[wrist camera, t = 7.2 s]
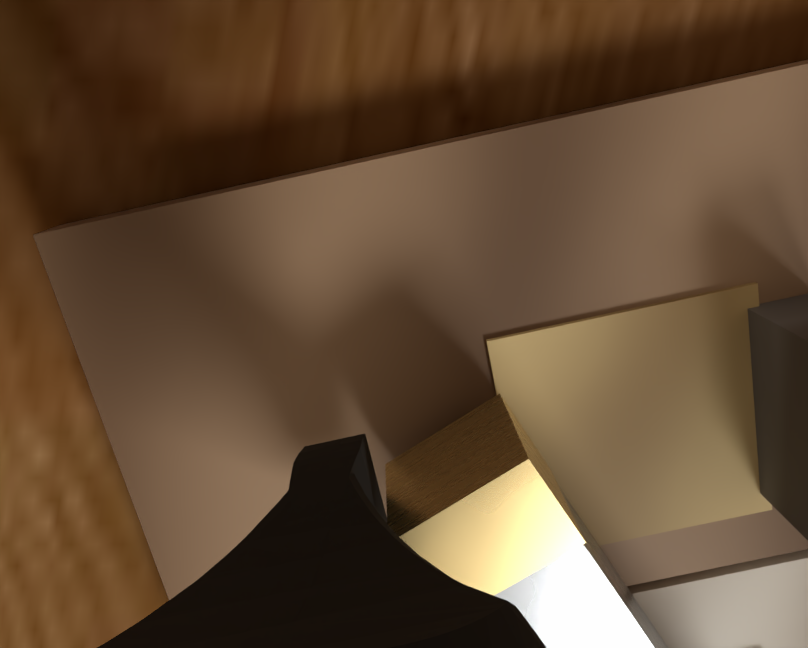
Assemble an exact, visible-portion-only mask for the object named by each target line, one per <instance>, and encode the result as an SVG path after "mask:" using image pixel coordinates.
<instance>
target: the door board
mask: <svg viewBox="0 0 808 648" xmlns="http://www.w3.org/2000/svg"><path fill="white" fill-rule="evenodd" d="M33 237H34V240H35V242H36V245H37V248H38V250H39V253H40V256H41V258H42V261H43V264H44V266H45V269H46V272H47V274H48V277H49V280H50V282H51V285H52V288H53V290H54V293H55V296H56V298H57V301H58V304H59V306H60V309H61V312H62V314H63V317H64V320H65V323H66V325H67V328H68V331H69V333H70V336H71V339H72V341H73V344H74V347H75V349H76V352H77V355H78V357H79V360H80V363H81V365H82V368H83V371H84V373H85V376H86V379H87V381H88V384H89V387H90V389H91V392H92V395H93V398H94V400H95V403H96V406H97V408H98V411H99V414H100V416H101V419H102V422H103V424H104V427H105V430H106V432H107V435H108V438H109V440H110V443H111V446H112V448H113V451H114V454H115V456H116V459H117V462H118V464H119V467H120V470H121V472H122V475H123V478H124V481H125V483H126V486H127V489H128V491H129V494H130V497H131V499H132V502H133V505H134V507H135V510H136V513H137V515H138V518H139V521H140V523H141V526H142V529H143V531H144V534H145V537H146V539H147V542H148V545H149V547H150V550H151V553H152V555H153V558H154V561H155V564H156V566H157V569H158V572H159V574H160V577H161V580H162V582H163V585H164V588H165V590H166V593H167V596H168V598H169V600H170V599H172V598H173V597H175V596H176V595H177V594H179V593H180V592H182V591H183V590H184V589H186V588H187V587H188V586H190V585H191V584H193V583H194V582H195V581H196V580H198V579H199V578H200V577H201V576H203V575H204V574H205V573H206V572H207V571H209V570H210V569H211V568H212V567H213V566H214V565H215V564H217V563H218V562H219V561H220V560H221V559H222V558H224V557H225V556H226V555H227V554H228V553H229V552H230V551H231V550H232V549H234V548H235V547H236V546H237V545H238V544H239V543H240V542H241V541H242V540H243V539H244V538H245V537H246V536H247V535H248V534H249V533H250V532H251V531H252V530H253V529H254V528H255V527H256V525H257V524H258V523H259V522H260V521H261V520H262V519H263V518H264V517H265V516H266V515H267V514H268V513H269V511H270V510H271V509H272V508H273V507H274V506H275V505H276V504H277V503H278V502H279V501H280V500H281V498H282V497H283V496H284V495H285V494H286V492H287V491H288V490H289V484H290V478H291V473H292V467H293V463H294V461H295V459H296V457H297V455H298V454H299V452H300V451H301V450H302V449H303V448H304V447H305V446H309V445H314V444H319V443H323V442H328V441H332V440H337V439H342V438H346V437H351V436H355V435H360V434H366V438H367V442H368V446H369V450H370V454H371V458H372V462H373V466H374V469H375V473H376V477H377V481H378V485H379V489H380V493H381V497H382V501H383V505H384V509H385V512H386V516H387V502H386V472H385V464H387V463H388V462H390V461H391V460H393V459H395V458H396V457H398V456H399V455H401V454H403V453H404V452H406V451H408V450H409V449H411V448H412V447H414V446H416V445H417V444H419V443H420V442H422V441H424V440H425V439H427V438H429V437H430V436H432V435H433V434H435V433H437V432H438V431H440V430H441V429H443V428H445V427H446V426H448V425H449V424H451V423H453V422H454V421H456V420H458V419H459V418H461V417H462V416H464V415H466V414H467V413H469V412H470V411H472V410H474V409H475V408H477V407H479V406H480V405H482V404H483V403H485V402H487V401H488V400H490V399H491V398H493V397H495V396H496V395H498V394H501V396H502V397H503V399H504V400H505V402H506V403H507V405H508V406H509V408H510V409H511V411H512V412H513V414H514V415H515V417H516V418H517V420H518V421H519V423H520V424H521V425H522V427H523V428H524V430H525V431H526V433H527V434H528V436H529V437H530V439H531V440H532V442H533V443H534V445H535V446H536V448H537V449H538V451H539V452H540V454H541V455H542V456H543V458H544V459H545V461H546V462H547V464H548V466H549V468H550V470H551V472H552V474H553V476H554V478H555V480H556V482H557V484H558V486H559V487H560V489H561V490H562V492H563V493H564V494H565V496H566V497H567V499H568V500H569V502H570V503H571V505H572V506H573V508H574V509H575V511H576V512H577V514H578V515H579V517H580V518H581V520H582V521H583V522H584V524H585V525H586V527H587V528H588V530H589V531H590V533H591V534H592V536H593V537H594V539H595V540H596V542H597V543H598V545H599V546H600V548H601V549H602V550H603V552H604V553H605V555H606V556H607V558H608V559H609V561H610V562H611V564H612V565H613V567H614V568H615V570H616V571H617V573H618V574H619V576H620V577H621V578H622V580H623V581H624V583H625V584H626V586H627V587H628V589H629V590H630V592H631V593H632V595H633V596H634V598H635V599H636V601H637V602H638V604H639V605H640V606H641V608H642V609H643V611H644V612H645V614H646V615H647V617H648V618H649V620H650V621H651V623H652V624H653V626H654V627H655V629H656V630H657V631H658V633H659V634H660V636H661V637H662V639H663V640H664V642H665V643H666V645H667V646H668V648H808V60H803V61H799V62H794V63H790V64H785V65H781V66H776V67H772V68H767V69H763V70H758V71H754V72H749V73H745V74H740V75H736V76H731V77H727V78H722V79H718V80H713V81H709V82H704V83H699V84H695V85H690V86H686V87H681V88H677V89H672V90H668V91H663V92H659V93H654V94H650V95H645V96H641V97H636V98H632V99H627V100H623V101H618V102H614V103H609V104H604V105H600V106H595V107H591V108H586V109H582V110H577V111H573V112H568V113H564V114H559V115H555V116H550V117H546V118H541V119H537V120H532V121H528V122H523V123H519V124H514V125H510V126H505V127H500V128H496V129H491V130H487V131H482V132H478V133H473V134H469V135H464V136H460V137H455V138H451V139H446V140H442V141H437V142H433V143H428V144H424V145H419V146H415V147H410V148H406V149H401V150H396V151H392V152H387V153H383V154H378V155H374V156H369V157H365V158H360V159H356V160H351V161H347V162H342V163H338V164H333V165H329V166H324V167H320V168H315V169H311V170H306V171H302V172H297V173H292V174H288V175H283V176H279V177H274V178H270V179H265V180H261V181H256V182H252V183H247V184H243V185H238V186H234V187H229V188H225V189H220V190H216V191H211V192H207V193H202V194H197V195H193V196H188V197H184V198H179V199H175V200H170V201H166V202H161V203H157V204H152V205H148V206H143V207H139V208H134V209H130V210H125V211H121V212H116V213H112V214H107V215H103V216H98V217H93V218H89V219H84V220H80V221H75V222H71V223H66V224H62V225H58V226H56V227H53V228H50V229H48V230H45V231H42V232H40V233H37V234H34V235H33Z"/></svg>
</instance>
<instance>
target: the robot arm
mask: <svg viewBox="0 0 808 648" xmlns="http://www.w3.org/2000/svg"><path fill="white" fill-rule="evenodd" d="M98 648H546V646H545V645H544V643H543V642H542V640H541V639H540V638H539V636H538V635H537V633H536V632H535V631H534V629H533V628H532V627H531V625H530V624H529V623H528V621H527V620H526V619H525V617H524V616H523V615H522V613H521V612H520V611H519V609H518V608H517V607H516V606H515V605H513V604H512V603H510V602H509V601H507V600H504V599H501V598H499V597H496V596H493V595H491V594H488V593H485V592H483V591H480V590H477V589H475V588H472V587H469V586H467V585H464V584H462V583H460V582H458V581H456V580H455V579H453V578H451V577H449V576H448V575H446V574H445V573H444V572H442V571H441V570H439V569H438V568H436V567H435V566H434V565H432V564H431V563H429V562H428V561H427V560H425V559H424V558H422V557H421V556H420V555H418V554H417V553H416V552H415V551H414V550H413V549H412V548H411V547H409V546H408V545H407V544H406V543H405V542H404V541H403V540H402V539H401V538H400V537H399V536H398V535H397V534H396V533H395V532H394V531H393V530H392V529H391V528H390V527H389V525H388V524H387V516H386V512H385V509H384V505H383V501H382V497H381V493H380V489H379V485H378V481H377V477H376V473H375V469H374V466H373V462H372V458H371V454H370V450H369V446H368V442H367V438H366V434H360V435H355V436H351V437H346V438H342V439H337V440H332V441H328V442H323V443H319V444H314V445H309V446H305V447H304V448H303V449H302V450H301V451H300V452H299V454H298V455H297V457H296V459H295V461H294V463H293V467H292V473H291V478H290V484H289V490H288V491H287V492H286V494H285V495H284V496H283V497H282V498H281V500H280V501H279V502H278V503H277V504H276V505H275V506H274V507H273V508H272V509H271V510H270V511H269V513H268V514H267V515H266V516H265V517H264V518H263V519H262V520H261V521H260V522H259V523H258V524H257V525H256V527H255V528H254V529H253V530H252V531H251V532H250V533H249V534H248V535H247V536H246V537H245V538H244V539H243V540H242V541H241V542H240V543H239V544H238V545H237V546H236V547H235V548H234V549H232V550H231V551H230V552H229V553H228V554H227V555H226V556H225V557H224V558H222V559H221V560H220V561H219V562H218V563H217V564H215V565H214V566H213V567H212V568H211V569H210V570H209V571H207V572H206V573H205V574H204V575H203V576H201V577H200V578H199V579H198V580H196V581H195V582H194V583H193V584H191V585H190V586H188V587H187V588H186V589H184V590H183V591H182V592H180V593H179V594H177V595H176V596H175V597H173V598H172V599H170V600H169V601H168V602H166V603H165V604H164V605H162V606H161V607H159V608H158V609H157V610H155V611H154V612H153V613H151V614H150V615H148V616H147V617H146V618H144V619H143V620H141V621H140V622H138V623H137V624H135V625H133V626H132V627H130V628H129V629H127V630H126V631H124V632H122V633H121V634H119V635H118V636H116V637H114V638H113V639H111V640H110V641H108V642H106V643H105V644H103V645H101V646H99V647H98Z"/></svg>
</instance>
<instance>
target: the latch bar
mask: <svg viewBox="0 0 808 648" xmlns="http://www.w3.org/2000/svg"><path fill="white" fill-rule="evenodd" d="M385 472H386V502H387V524H388V525H389V527H390V528H391V529H392V530H393V531H394V532H395V533H396V534H397V535H398V536H399V537H400V538H401V539H402V540H403V541H404V542H405V543H406V544H407V545H408V546H409V547H411V548H412V549H413V550H414V551H415V552H416V553H417V554H418V555H420V556H421V557H422V558H424V559H425V560H427V561H428V562H429V563H431V564H432V565H434V566H435V567H436V568H438V569H439V570H441V571H442V572H444V573H445V574H446V575H448V576H449V577H451V578H453V579H455V580H456V581H458V582H460V583H462V584H464V585H467V586H469V587H472V588H475V589H477V590H480V591H483V592H485V593H488V594H491V595H493V596H496V597H499V598H501V599H504V600H507V601H509V602H510V603H512V604H513V605H515V606H516V607H517V608H518V609H519V611H520V612H521V613H522V615H523V616H524V617H525V619H526V620H527V621H528V623H529V624H530V625H531V627H532V628H533V629H534V631H535V632H536V633H537V635H538V636H539V638H540V639H541V640H542V642H543V643H544V645H545V646H546V648H668V646H667V645H666V643H665V642H664V640H663V639H662V637H661V636H660V634H659V633H658V631H657V630H656V629H655V627H654V626H653V624H652V623H651V621H650V620H649V618H648V617H647V615H646V614H645V612H644V611H643V609H642V608H641V606H640V605H639V604H638V602H637V601H636V599H635V598H634V596H633V595H632V593H631V592H630V590H629V589H628V587H627V586H626V584H625V583H624V581H623V580H622V578H621V577H620V576H619V574H618V573H617V571H616V570H615V568H614V567H613V565H612V564H611V562H610V561H609V559H608V558H607V556H606V555H605V553H604V552H603V550H602V549H601V548H600V546H599V545H598V543H597V542H596V540H595V539H594V537H593V536H592V534H591V533H590V531H589V530H588V528H587V527H586V525H585V524H584V522H583V521H582V520H581V518H580V517H579V515H578V514H577V512H576V511H575V509H574V508H573V506H572V505H571V503H570V502H569V500H568V499H567V497H566V496H565V494H564V493H563V492H562V490H561V489H560V487H559V486H558V484H557V482H556V480H555V478H554V476H553V474H552V472H551V470H550V468H549V466H548V464H547V462H546V461H545V459H544V458H543V456H542V455H541V454H540V452H539V451H538V449H537V448H536V446H535V445H534V443H533V442H532V440H531V439H530V437H529V436H528V434H527V433H526V431H525V430H524V428H523V427H522V425H521V424H520V423H519V421H518V420H517V418H516V417H515V415H514V414H513V412H512V411H511V409H510V408H509V406H508V405H507V403H506V402H505V400H504V399H503V397H502V396H501V394H498V395H496V396H495V397H493V398H491V399H490V400H488V401H487V402H485V403H483V404H482V405H480V406H479V407H477V408H475V409H474V410H472V411H470V412H469V413H467V414H466V415H464V416H462V417H461V418H459V419H458V420H456V421H454V422H453V423H451V424H449V425H448V426H446V427H445V428H443V429H441V430H440V431H438V432H437V433H435V434H433V435H432V436H430V437H429V438H427V439H425V440H424V441H422V442H420V443H419V444H417V445H416V446H414V447H412V448H411V449H409V450H408V451H406V452H404V453H403V454H401V455H399V456H398V457H396V458H395V459H393V460H391V461H390V462H388V463H387V464H385Z"/></svg>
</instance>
